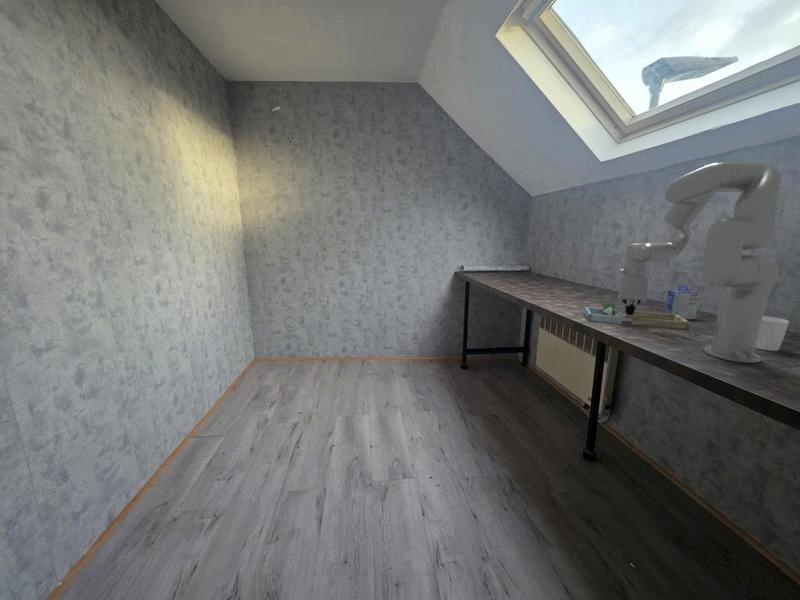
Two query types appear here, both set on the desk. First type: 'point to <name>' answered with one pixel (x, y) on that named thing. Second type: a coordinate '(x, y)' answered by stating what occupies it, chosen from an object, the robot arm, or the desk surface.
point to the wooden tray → (659, 320)
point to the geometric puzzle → (608, 310)
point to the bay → (601, 316)
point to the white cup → (771, 333)
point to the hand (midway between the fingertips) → (629, 314)
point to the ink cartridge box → (682, 303)
